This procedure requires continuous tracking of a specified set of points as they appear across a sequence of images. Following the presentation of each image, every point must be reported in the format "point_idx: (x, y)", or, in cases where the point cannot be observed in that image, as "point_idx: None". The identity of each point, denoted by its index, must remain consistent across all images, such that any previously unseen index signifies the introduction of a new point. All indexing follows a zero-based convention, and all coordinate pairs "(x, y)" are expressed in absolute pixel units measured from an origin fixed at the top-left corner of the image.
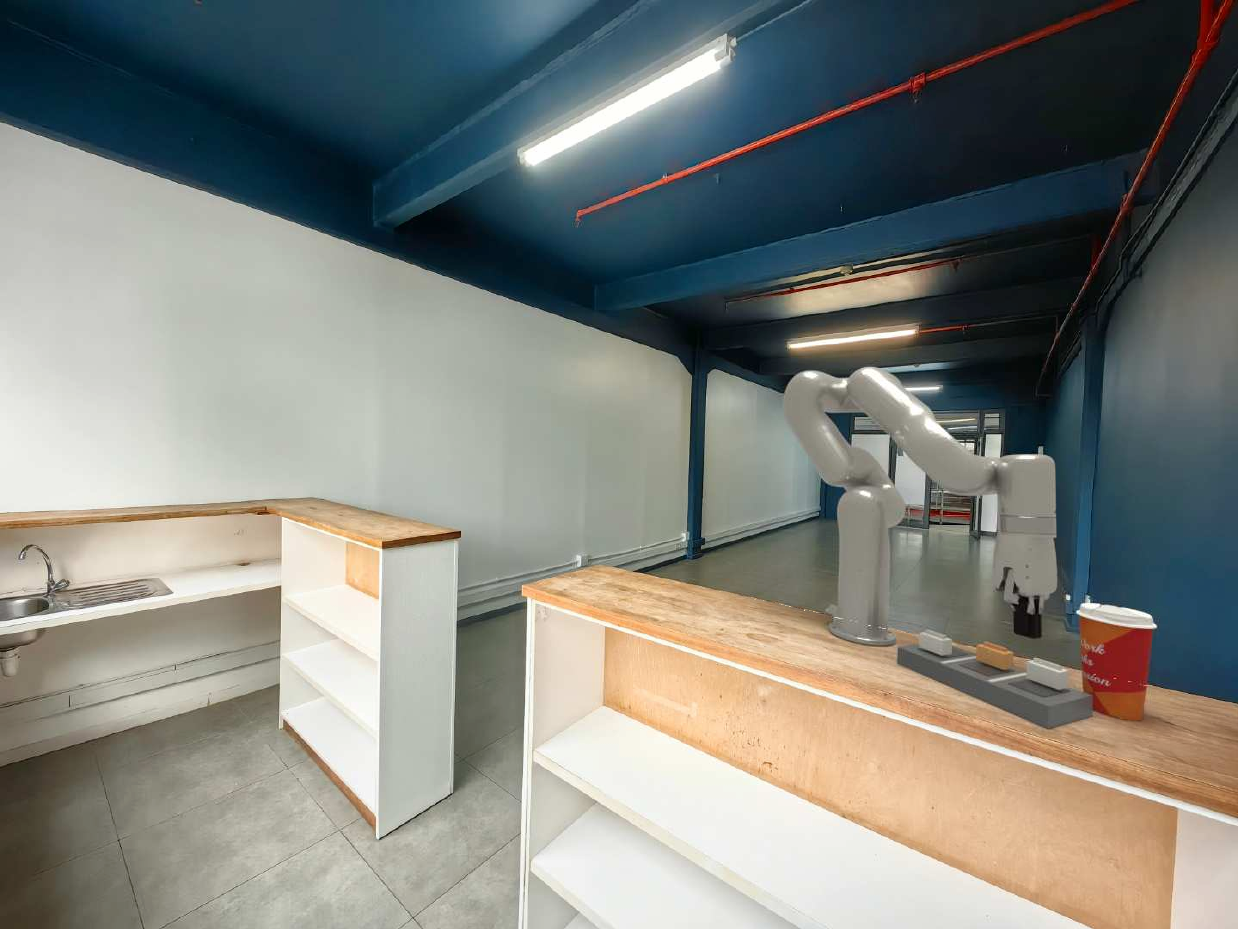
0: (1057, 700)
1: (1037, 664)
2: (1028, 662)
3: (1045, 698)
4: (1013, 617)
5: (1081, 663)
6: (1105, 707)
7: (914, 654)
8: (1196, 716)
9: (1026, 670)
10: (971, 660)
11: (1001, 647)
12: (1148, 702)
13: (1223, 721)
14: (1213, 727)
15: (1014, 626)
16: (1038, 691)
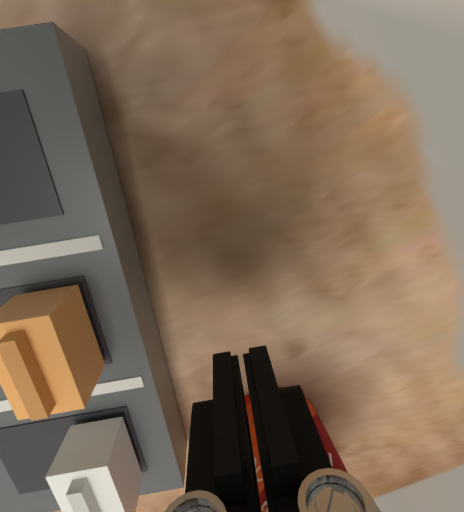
0: (44, 504)
1: (63, 497)
2: (48, 480)
3: (21, 495)
4: (213, 420)
5: (258, 488)
6: None
7: None
8: (428, 449)
9: (61, 447)
10: (19, 271)
11: (29, 407)
12: (417, 401)
13: (451, 465)
14: (393, 478)
15: (213, 380)
16: (36, 473)
